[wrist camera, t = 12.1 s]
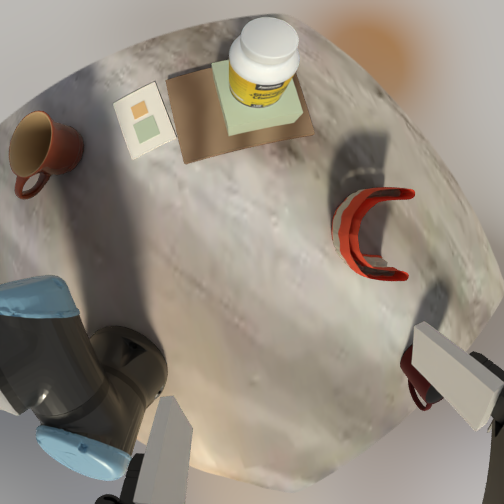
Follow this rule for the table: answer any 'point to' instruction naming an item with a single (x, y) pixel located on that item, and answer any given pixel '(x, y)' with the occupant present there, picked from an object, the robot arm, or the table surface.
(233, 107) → the brick
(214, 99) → the plate
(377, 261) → the denture model
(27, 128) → the mug
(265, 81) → the pill bottle
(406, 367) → the mug
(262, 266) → the table surface
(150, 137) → the page
